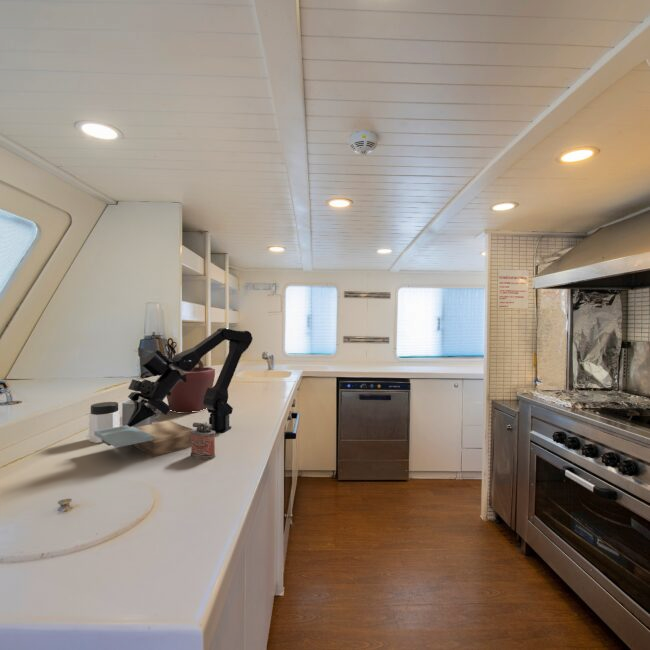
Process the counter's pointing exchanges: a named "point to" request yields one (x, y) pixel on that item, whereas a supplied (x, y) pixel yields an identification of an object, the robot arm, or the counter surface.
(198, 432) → the lighter
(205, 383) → the bucket
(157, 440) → the cart bed
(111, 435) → the grey flat slab
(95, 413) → the jar
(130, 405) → the grey mug
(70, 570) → the counter surface
